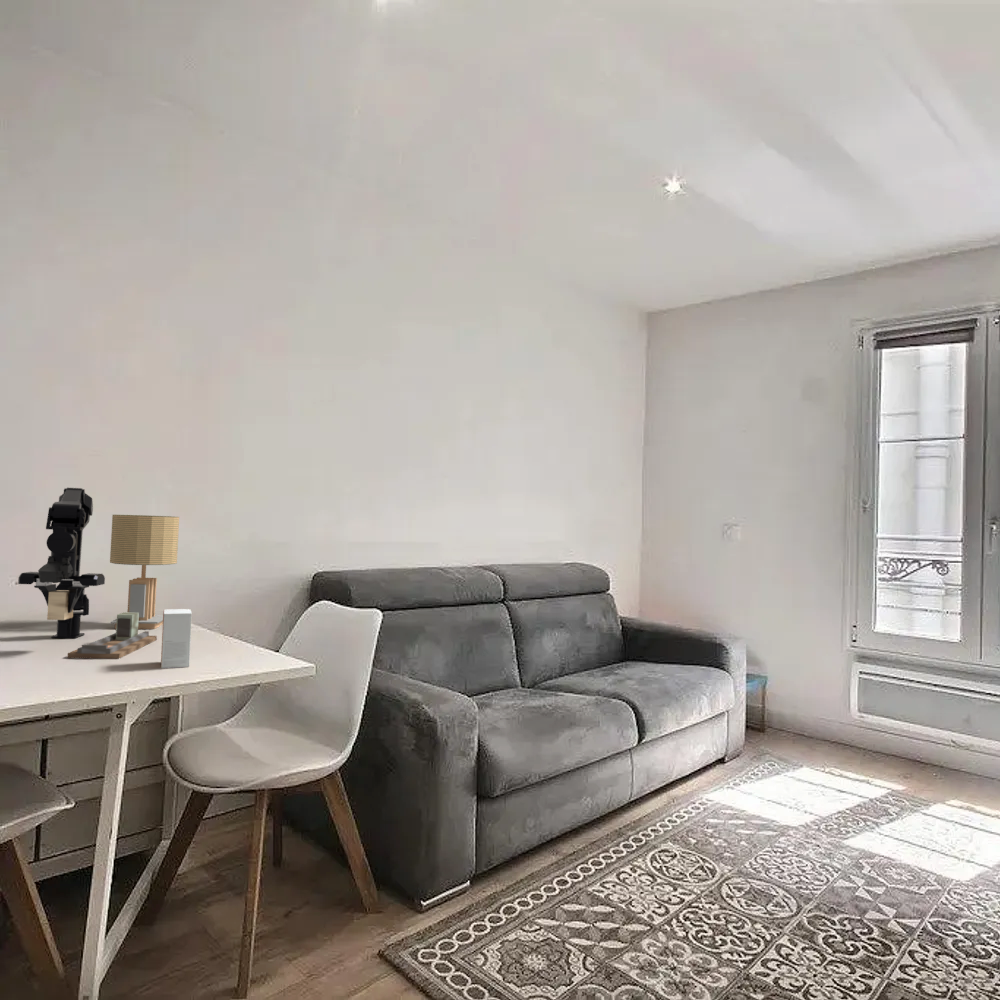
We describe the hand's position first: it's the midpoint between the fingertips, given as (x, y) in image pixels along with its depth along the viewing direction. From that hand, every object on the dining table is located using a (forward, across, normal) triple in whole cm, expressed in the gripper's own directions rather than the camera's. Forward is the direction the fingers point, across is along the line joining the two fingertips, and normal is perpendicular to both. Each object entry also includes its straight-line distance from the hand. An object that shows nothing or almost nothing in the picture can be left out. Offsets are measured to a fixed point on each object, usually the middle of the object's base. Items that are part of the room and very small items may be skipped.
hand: (60, 612), depth 187 cm
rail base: (+10, +12, +5) cm, 16 cm away
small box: (+10, +33, -15) cm, 38 cm away
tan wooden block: (+2, 0, 0) cm, 2 cm away
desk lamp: (+10, +5, +45) cm, 46 cm away
